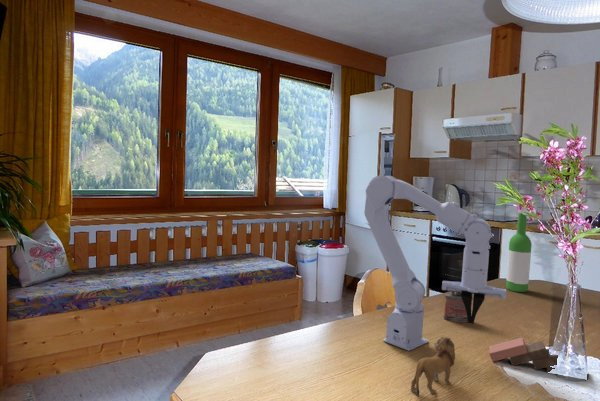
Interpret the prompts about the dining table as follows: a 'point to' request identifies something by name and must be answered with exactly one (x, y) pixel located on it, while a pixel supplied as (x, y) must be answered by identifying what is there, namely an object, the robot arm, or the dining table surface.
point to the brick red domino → (507, 349)
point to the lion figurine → (435, 365)
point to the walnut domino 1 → (531, 353)
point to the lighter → (455, 307)
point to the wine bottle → (519, 258)
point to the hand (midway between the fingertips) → (470, 322)
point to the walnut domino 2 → (545, 361)
